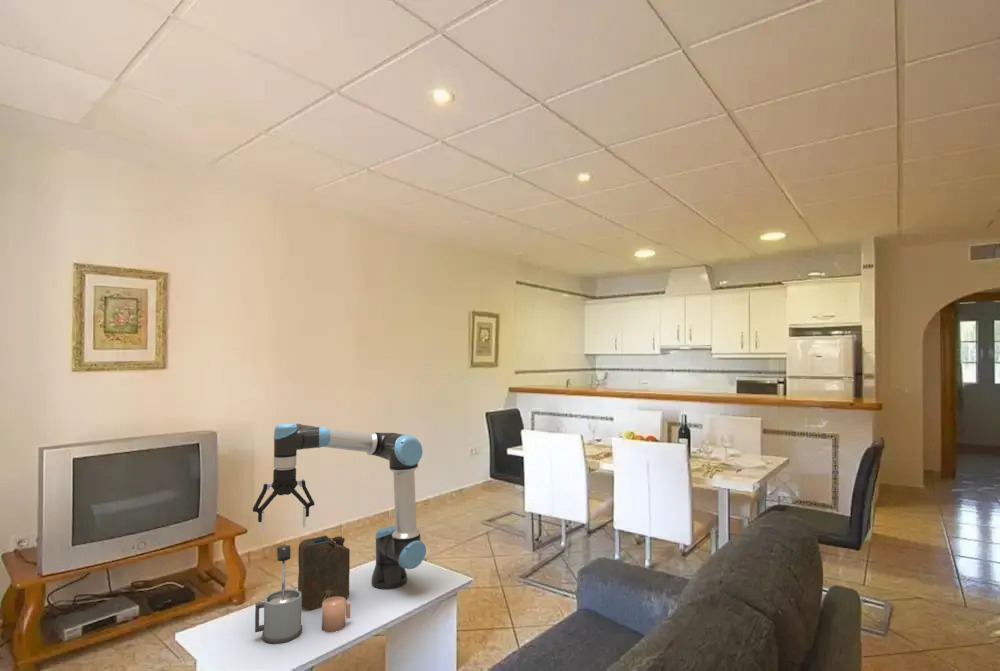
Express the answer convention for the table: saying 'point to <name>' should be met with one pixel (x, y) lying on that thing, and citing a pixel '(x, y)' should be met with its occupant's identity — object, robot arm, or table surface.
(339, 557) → the canister
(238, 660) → the table surface
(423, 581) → the table surface
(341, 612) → the peach mug
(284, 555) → the plunger
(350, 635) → the table surface
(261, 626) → the faceted grey tankard
